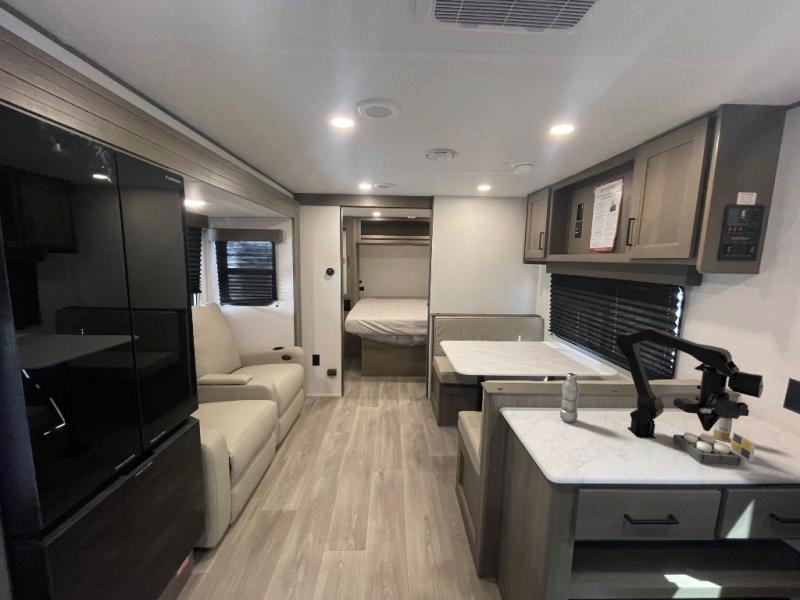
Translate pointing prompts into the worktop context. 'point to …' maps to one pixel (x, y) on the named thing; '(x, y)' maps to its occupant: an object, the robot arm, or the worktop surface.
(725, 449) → the button
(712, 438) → the button
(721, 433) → the sprinkles bottle
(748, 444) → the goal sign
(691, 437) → the button
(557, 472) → the worktop surface
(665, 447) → the worktop surface
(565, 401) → the plastic bottle
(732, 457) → the button board
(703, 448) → the button
